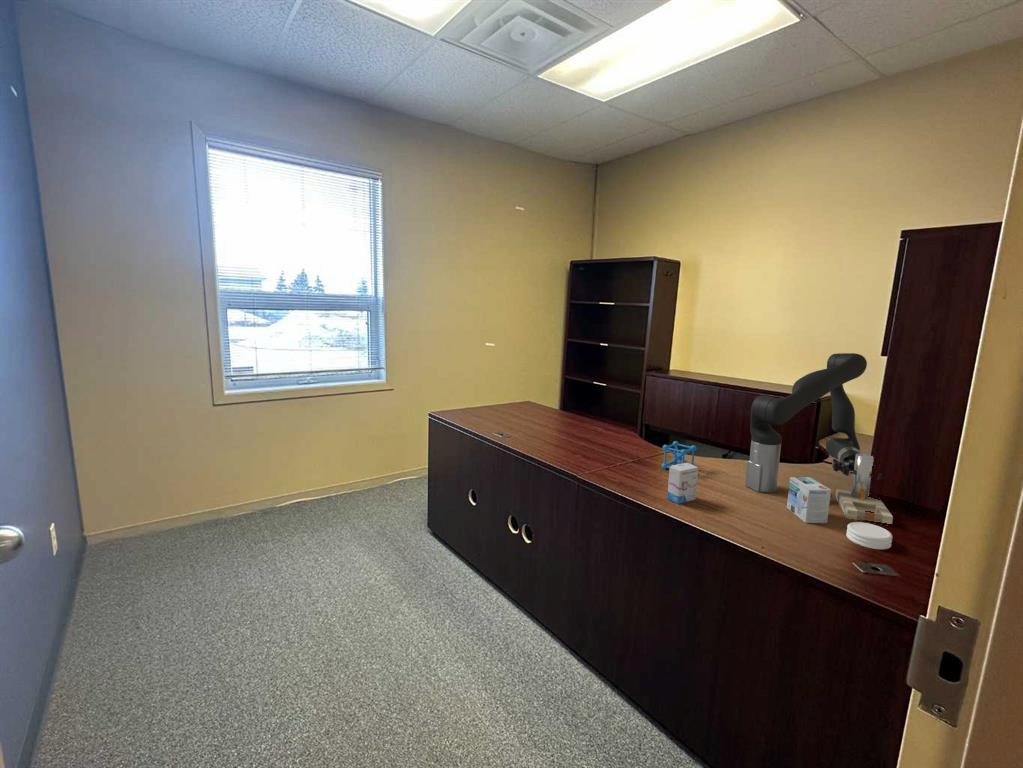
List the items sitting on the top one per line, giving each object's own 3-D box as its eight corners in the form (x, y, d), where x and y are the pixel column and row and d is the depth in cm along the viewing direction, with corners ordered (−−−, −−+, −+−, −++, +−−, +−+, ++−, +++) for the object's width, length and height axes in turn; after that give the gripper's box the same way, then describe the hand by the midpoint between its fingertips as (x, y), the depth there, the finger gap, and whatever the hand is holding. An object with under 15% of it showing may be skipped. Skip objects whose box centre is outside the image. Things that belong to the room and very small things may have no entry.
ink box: (678, 504, 152) (680, 470, 150) (666, 499, 156) (668, 465, 154) (696, 499, 156) (698, 466, 154) (684, 494, 160) (686, 461, 158)
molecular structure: (683, 475, 178) (685, 450, 177) (660, 468, 186) (661, 444, 184) (696, 469, 185) (698, 445, 183) (673, 463, 192) (674, 440, 191)
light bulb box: (785, 508, 150) (789, 476, 148) (807, 508, 149) (810, 476, 148) (805, 523, 139) (809, 489, 137) (828, 523, 139) (832, 489, 137)
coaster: (871, 532, 134) (872, 521, 133) (900, 550, 124) (902, 538, 123) (837, 532, 134) (838, 521, 133) (864, 550, 124) (866, 538, 123)
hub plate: (891, 526, 137) (893, 516, 137) (846, 518, 142) (847, 509, 141) (875, 503, 153) (876, 494, 153) (835, 497, 158) (836, 488, 157)
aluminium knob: (870, 501, 147) (876, 459, 145) (853, 499, 149) (858, 457, 147) (866, 495, 152) (871, 454, 150) (849, 492, 154) (854, 452, 152)
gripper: (829, 447, 165) (838, 460, 150) (878, 452, 159) (893, 467, 144) (827, 467, 166) (835, 482, 152) (875, 473, 160) (890, 489, 146)
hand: (863, 475), depth 148 cm, fingers open, 8 cm apart
